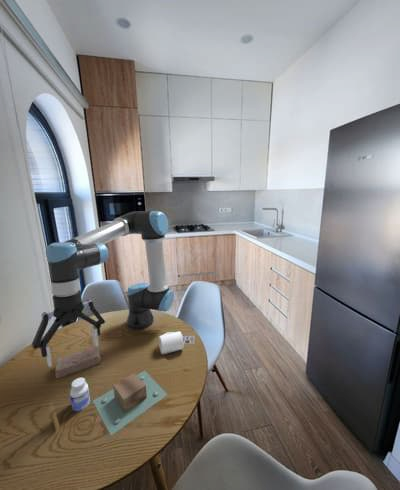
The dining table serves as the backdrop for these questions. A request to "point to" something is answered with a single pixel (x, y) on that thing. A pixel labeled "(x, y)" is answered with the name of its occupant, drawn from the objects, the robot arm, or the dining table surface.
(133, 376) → the walnut block
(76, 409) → the pill bottle
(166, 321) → the dining table surface
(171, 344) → the mug
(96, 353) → the brick
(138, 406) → the build board
